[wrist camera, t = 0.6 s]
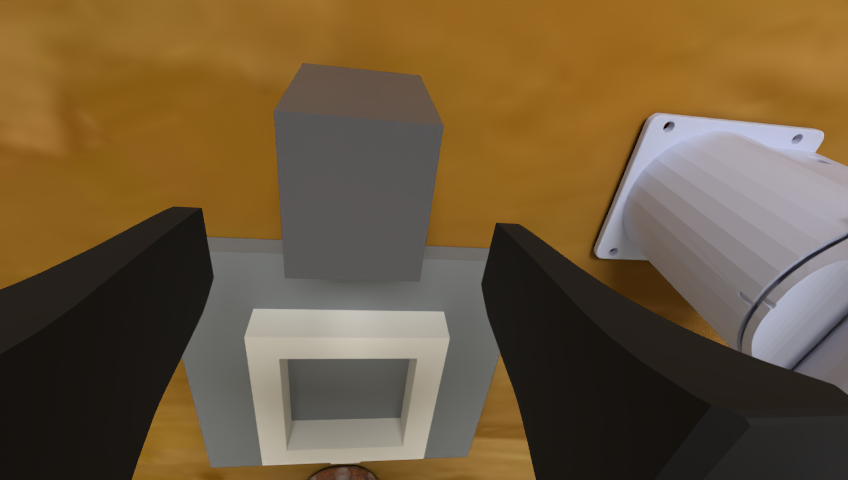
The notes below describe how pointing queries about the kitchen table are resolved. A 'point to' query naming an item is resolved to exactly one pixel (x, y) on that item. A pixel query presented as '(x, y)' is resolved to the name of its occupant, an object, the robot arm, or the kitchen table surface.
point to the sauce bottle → (343, 474)
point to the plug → (355, 173)
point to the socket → (339, 360)
